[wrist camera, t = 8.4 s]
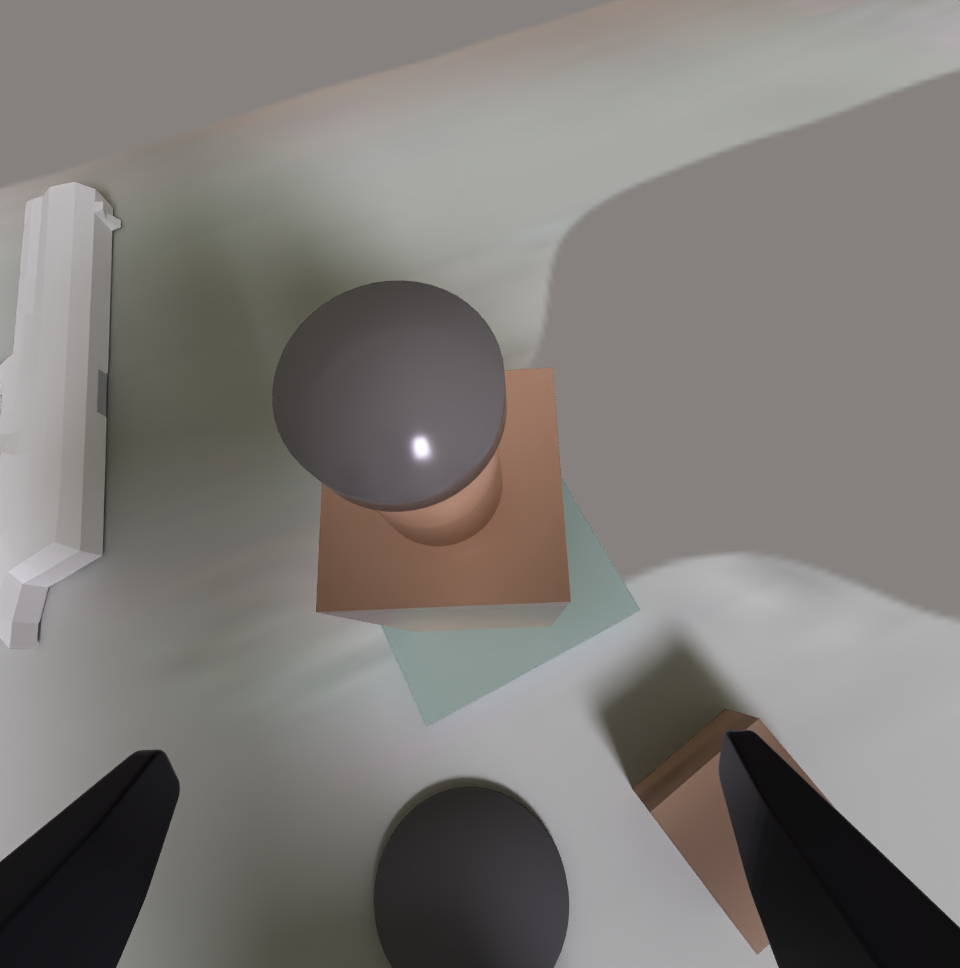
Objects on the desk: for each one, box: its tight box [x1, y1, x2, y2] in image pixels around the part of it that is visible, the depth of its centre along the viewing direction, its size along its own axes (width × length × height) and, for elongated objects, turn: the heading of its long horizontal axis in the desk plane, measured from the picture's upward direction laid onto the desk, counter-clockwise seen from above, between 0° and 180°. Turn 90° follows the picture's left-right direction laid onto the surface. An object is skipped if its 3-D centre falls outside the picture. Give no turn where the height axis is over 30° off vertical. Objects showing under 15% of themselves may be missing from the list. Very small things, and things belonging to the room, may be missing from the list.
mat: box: [381, 477, 640, 727], centre depth 20 cm, size 8×8×1 cm
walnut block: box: [632, 709, 834, 955], centre depth 17 cm, size 4×4×3 cm
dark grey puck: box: [374, 787, 569, 968], centre depth 18 cm, size 6×6×1 cm
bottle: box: [273, 281, 571, 632], centre depth 13 cm, size 5×5×14 cm
